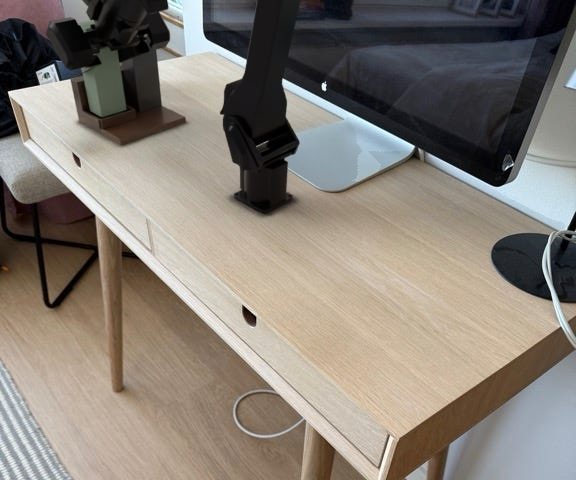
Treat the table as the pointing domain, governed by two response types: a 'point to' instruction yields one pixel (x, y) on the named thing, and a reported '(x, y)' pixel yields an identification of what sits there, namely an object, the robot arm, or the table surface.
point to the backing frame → (131, 103)
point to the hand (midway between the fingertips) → (96, 66)
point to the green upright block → (104, 82)
